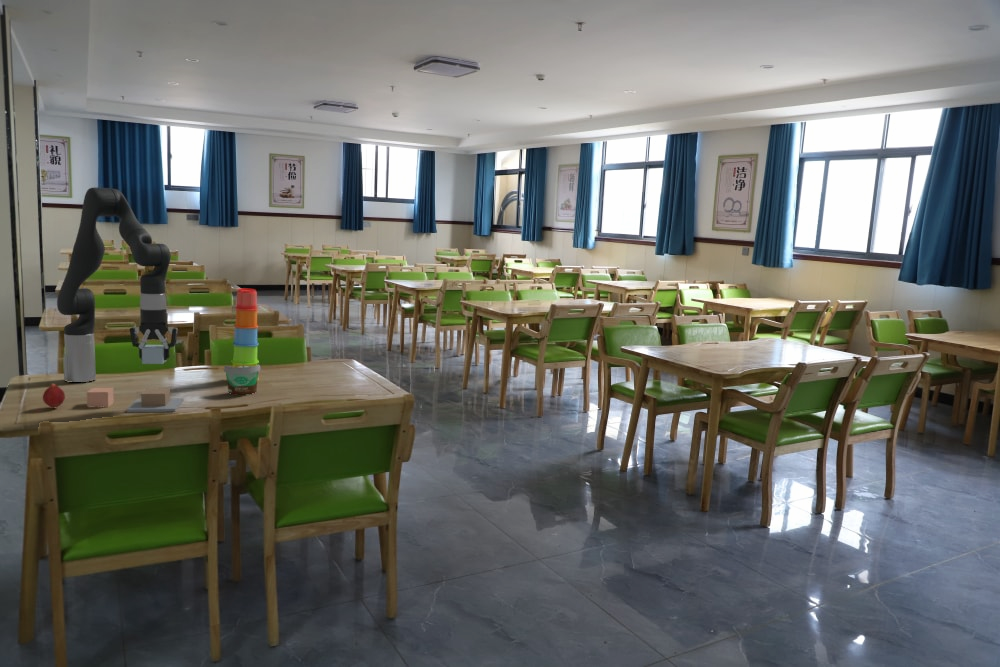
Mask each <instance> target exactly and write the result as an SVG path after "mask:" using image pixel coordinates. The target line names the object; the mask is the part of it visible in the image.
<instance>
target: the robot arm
mask: <svg viewBox="0 0 1000 667" xmlns="http://www.w3.org/2000/svg"><path fill="white" fill-rule="evenodd" d="M80 216H81V217H80V222H79V227H78V231H77V234H76V238H75V242H74V245H73V248H72V252H71V256H70V260H69V261H70V262H69V263H68V268H67V272H66V274H65V277H64V280H63V282H62V285H61V287H60V290H59V292H58V295H57V299H56V306H57V310H58V312H59V313H60V314H61V315H63V316H78V315H79V316H78V318H77V319H76V320H74V321H72V322H70V323H68V324H66V325H65V326H64V327H63V332H64V334H63V335H64V338H63V339H64V352H65V354H64V355H63V357H62V358H63V359H62V360H63V362H62V363H63V380H67V381H72V382H86V383H88V382H87V381H92V380H95V379H96V375H97V373H96V351H95V350H96V349H95V348H96V347H95V346H96V345H95V326H96V325H95V324H96V312H95V311H96V298H95V295H94V293H93V291H92V290H91V289H90V288H84V287H83V288H81V285H82V284H84V282H86V280H88V278H90V277H91V276H93V274H94V273H96V272H97V271H98V270H99V268H100V267H101V265H102V262H103V258H104V256H105V252H106V247H105V244H104V240H103V239H102V237H101V236H100V234H99V232H98V229H97V221H98V218H99V217H116V218H118V219H119V220H120V222H119V223H118V224H119V226H118V232H119V234H120V237H121V238H122V240H123V241H124V242H125V243H126V245H127V246H128V247H129V249H130V252H131V255H132V258H133V261H134V262H135V263H136V264H137V265H138V266H140V267H153V269H152V271H151V272H148V273H144V274H142V275H141V276H140V281H139V282H140V297H139V308H140V310H139V313H140V314H139V315H140V316H139V318H140V325H139V326H138V327H137V326H136V327H135V326H132V327H130V328H129V334H130V339H131V344H132V346H133V347H136V348H138V358H139V359H141V360H142V348H143V347H144V346H146V345H147V342H148V340H159V341H160V343H161V345H163V346H164V348H165V349H164V360H167V361H168V360H169V359H170V356H171V354H170V353H171V350H170V349H171V348H174V347H175V346H176V345H177V338H178V331H179V328H178V327H170V326H169V325H168V319H167V318H168V315H167V314H168V312H167V309H168V308H167V307H168V304H167V295H166V277H167V273H168V269H169V267H170V266H169V265H170V262H171V258H172V257H171V256H172V255H171V251H170V249H169V247H168V246H167V245H166V244H165V243H153V238H152V236H151V234H149V232H148V231H147V230H146V229H145V228H144V226H143V225H142V224H141V223H140V222H139V220H138V219H137V217H136V215H135V214H134V211H133V209H132V207H131V205H130V204H129V202H128V201H127V199H126V197H125V195H124V193H122V192H121V191H120V190H119V189H117V188H109V187H90V188H88V189H87V190H86V192H85V194H84V198H83V203H82V211H81V215H80ZM139 331H140V332H141V334H142V335H143V336H142V339H141V340H140V342H139V340H138V334H139ZM167 332H169V334H170V335H171V337H170V342H169V341H168V338H167V336H166V334H167ZM96 380H97V379H96ZM96 380H95V381H96ZM92 382H93V381H92Z"/></svg>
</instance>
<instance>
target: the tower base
mask: <svg viewBox="0 0 1000 667" xmlns="http://www.w3.org/2000/svg"><path fill="white" fill-rule="evenodd" d="M184 401H185V399H184V397H171V388H146V389H145V390H144V391H142V392H141V395H140V397H139V398H138V397H137V399H135V400H134V402H132V404H130V406H128V407H127V408H126V413H168V412H167V411H175V412H177V410H178V409H179V408H180V406H181V405H182V403H183V402H184Z"/></svg>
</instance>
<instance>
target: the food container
mask: <svg viewBox="0 0 1000 667" xmlns="http://www.w3.org/2000/svg"><path fill="white" fill-rule="evenodd" d="M260 371H261V365H260V364H257V366H238V367H233V366H228V365H226V364H225V366H224V368H223V372H225V376H226V384H227V392H229V393H231V394H230V395H232V394H237V395H236V396H244V395H243V394H251V395H253V394H252V393H254V394H256V393H257V391H258V390H257V389H258V382H259V380H258V378H259V372H260ZM255 392H256V393H255ZM229 393H228V394H229Z"/></svg>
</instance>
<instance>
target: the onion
mask: <svg viewBox="0 0 1000 667" xmlns="http://www.w3.org/2000/svg"><path fill="white" fill-rule="evenodd" d="M65 398H66V394H65V392H64V390H63V389H62V388H61V387H59V386H57V385H56V384H55V383H51V384H50V386H48V387H47V388H46V389H45V390H44V393H43V395H42V400H43V402H44V403H45V404H46V405H47V406H48V407H50V408H51V407H57V408H58V407H60V406H61V405H62V404H63V403H64V400H65Z"/></svg>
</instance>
